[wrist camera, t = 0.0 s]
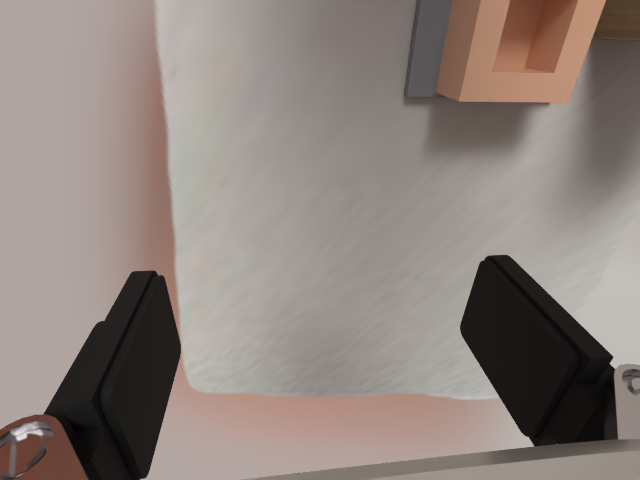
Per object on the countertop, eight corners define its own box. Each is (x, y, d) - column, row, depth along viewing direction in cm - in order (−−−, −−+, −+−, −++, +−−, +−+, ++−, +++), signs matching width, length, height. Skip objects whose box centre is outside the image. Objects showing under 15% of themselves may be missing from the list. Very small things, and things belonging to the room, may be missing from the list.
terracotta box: (459, -41, 32) (492, -52, 27) (572, -35, 33) (622, -44, 28) (435, 91, 38) (459, 101, 33) (532, 93, 39) (568, 102, 34)
